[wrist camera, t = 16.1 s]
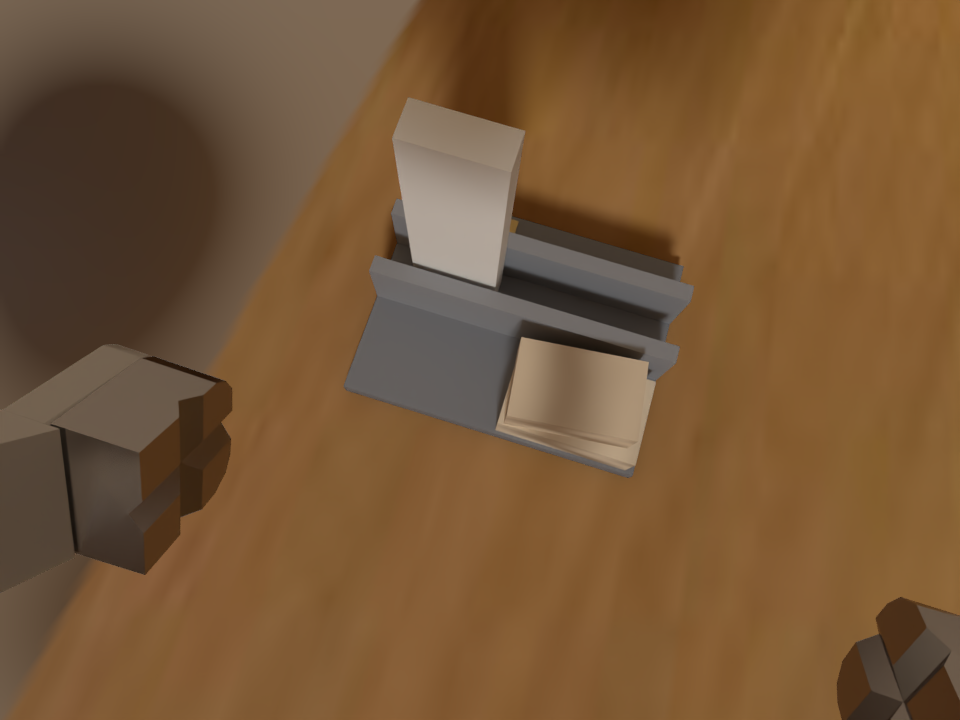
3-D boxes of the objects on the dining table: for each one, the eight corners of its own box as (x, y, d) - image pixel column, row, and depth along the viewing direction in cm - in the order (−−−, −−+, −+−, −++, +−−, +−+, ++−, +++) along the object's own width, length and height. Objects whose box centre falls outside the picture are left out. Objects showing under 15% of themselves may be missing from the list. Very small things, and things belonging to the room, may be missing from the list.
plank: (501, 280, 43) (525, 130, 27) (492, 308, 42) (511, 172, 27) (426, 258, 43) (408, 97, 28) (416, 285, 43) (392, 137, 27)
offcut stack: (645, 389, 41) (669, 368, 36) (624, 470, 40) (647, 459, 35) (517, 350, 42) (525, 324, 37) (493, 429, 40) (497, 413, 35)
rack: (678, 272, 44) (705, 239, 40) (628, 477, 41) (650, 468, 36) (418, 196, 45) (413, 154, 41) (346, 390, 42) (331, 369, 37)
